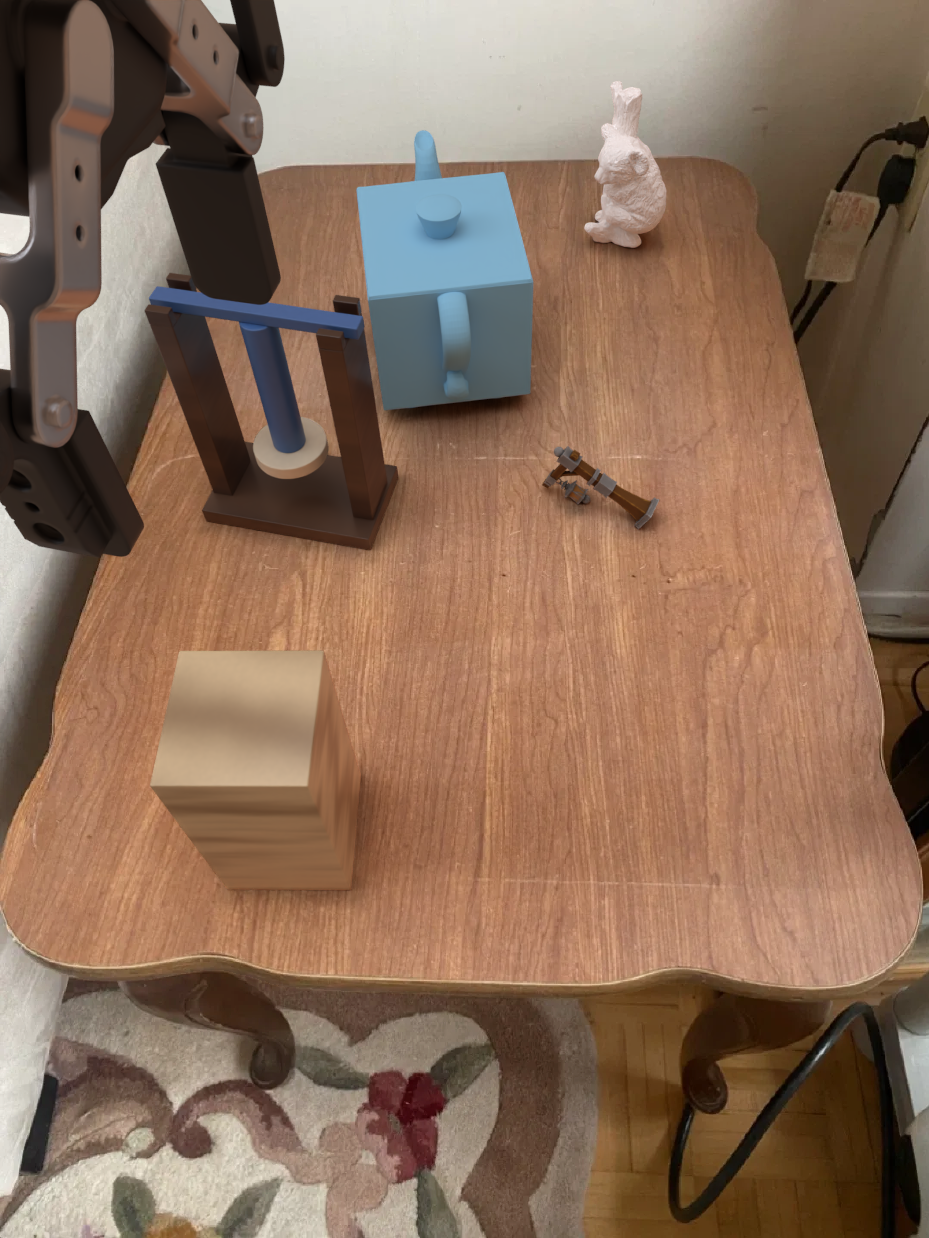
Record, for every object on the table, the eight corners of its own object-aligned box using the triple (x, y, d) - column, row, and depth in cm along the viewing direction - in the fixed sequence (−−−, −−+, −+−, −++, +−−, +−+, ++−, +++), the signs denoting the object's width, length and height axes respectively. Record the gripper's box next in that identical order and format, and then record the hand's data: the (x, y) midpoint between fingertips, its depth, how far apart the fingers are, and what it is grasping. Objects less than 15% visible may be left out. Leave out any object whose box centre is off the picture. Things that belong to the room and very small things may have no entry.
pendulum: (371, 495, 63) (345, 351, 53) (190, 462, 65) (133, 318, 55) (393, 441, 66) (373, 295, 56) (219, 412, 68) (170, 266, 58)
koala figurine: (573, 211, 88) (582, 77, 78) (646, 204, 88) (664, 70, 78) (589, 268, 83) (601, 133, 73) (666, 261, 83) (688, 125, 73)
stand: (370, 550, 66) (334, 358, 52) (205, 521, 68) (128, 329, 54) (398, 477, 70) (371, 279, 56) (241, 451, 72) (177, 254, 58)
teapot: (535, 436, 72) (541, 280, 60) (388, 453, 71) (366, 299, 60) (494, 259, 84) (493, 101, 73) (369, 272, 84) (347, 116, 72)
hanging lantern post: (538, 467, 69) (564, 433, 65) (629, 527, 70) (661, 497, 66) (528, 484, 68) (554, 451, 64) (621, 545, 69) (652, 516, 65)
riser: (351, 890, 53) (308, 786, 41) (226, 889, 53) (148, 785, 42) (361, 774, 57) (324, 649, 45) (245, 774, 57) (178, 650, 46)
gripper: (-176, -778, 14) (156, 217, 28) (-1436, -727, 6) (-127, 614, 20) (301, -811, 13) (405, 247, 26) (-562, -795, 5) (205, 684, 19)
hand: (175, 405), depth 23 cm, fingers open, 8 cm apart
